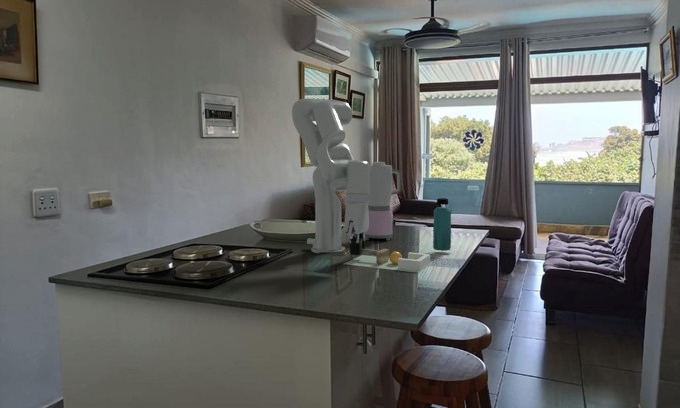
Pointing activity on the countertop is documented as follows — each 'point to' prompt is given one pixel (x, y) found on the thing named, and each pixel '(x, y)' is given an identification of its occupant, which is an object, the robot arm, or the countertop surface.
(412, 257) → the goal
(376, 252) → the rod
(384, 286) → the countertop surface
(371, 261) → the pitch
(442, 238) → the beverage bottle
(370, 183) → the blender
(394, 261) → the ball
